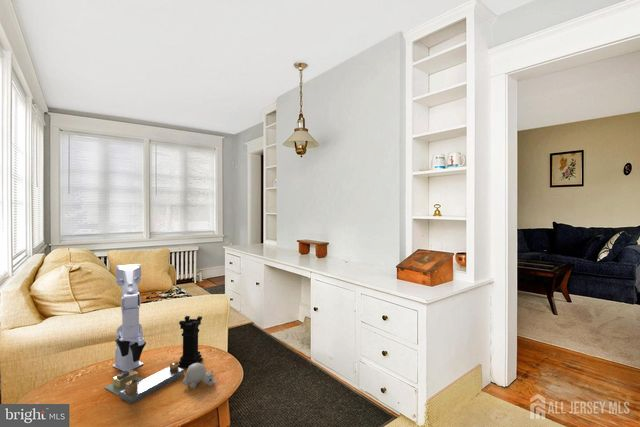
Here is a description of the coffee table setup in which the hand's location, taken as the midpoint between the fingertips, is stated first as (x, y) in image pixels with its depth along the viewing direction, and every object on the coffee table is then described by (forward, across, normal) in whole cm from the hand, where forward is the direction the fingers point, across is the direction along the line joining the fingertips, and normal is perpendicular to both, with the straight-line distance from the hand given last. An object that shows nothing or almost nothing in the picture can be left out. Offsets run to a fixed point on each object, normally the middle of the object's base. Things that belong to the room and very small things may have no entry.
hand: (130, 358), depth 130 cm
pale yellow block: (+9, +1, -2) cm, 9 cm away
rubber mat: (+9, +1, -2) cm, 10 cm away
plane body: (+9, +10, +3) cm, 14 cm away
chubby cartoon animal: (+10, +25, +12) cm, 30 cm away
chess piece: (+10, +8, +22) cm, 25 cm away
